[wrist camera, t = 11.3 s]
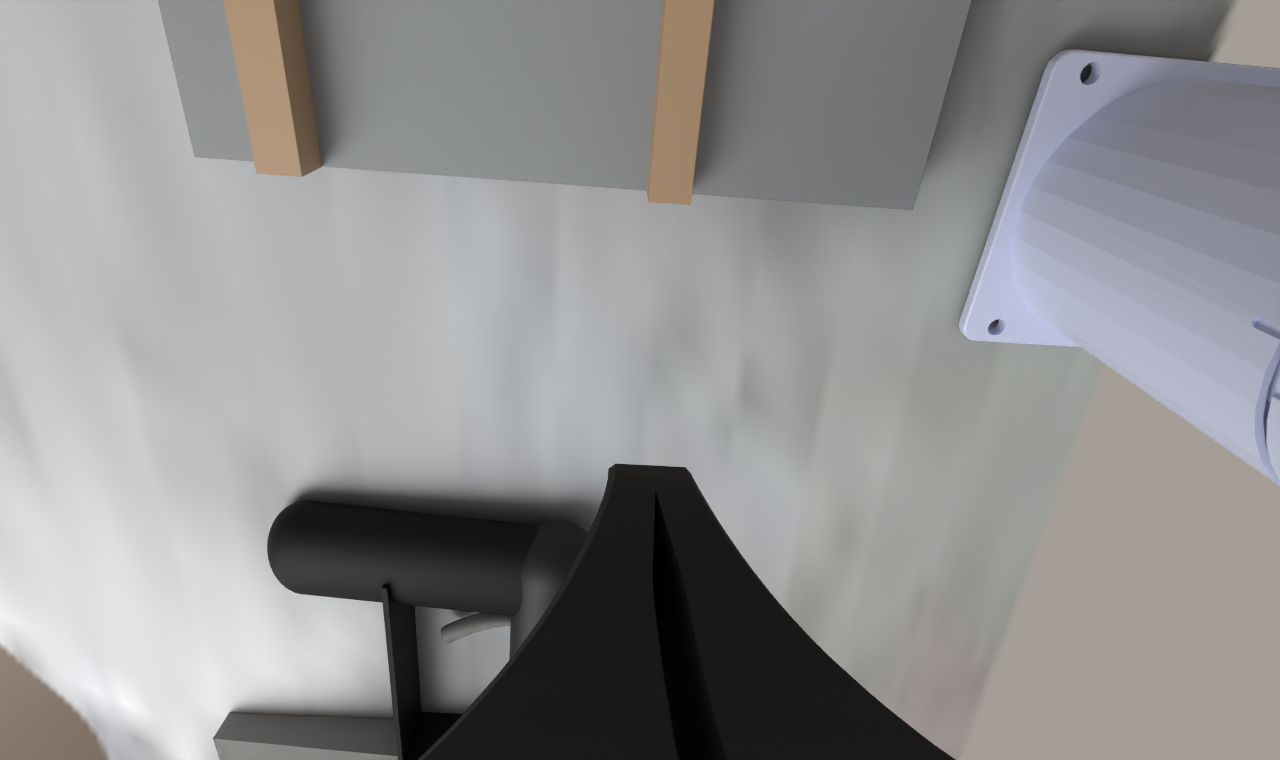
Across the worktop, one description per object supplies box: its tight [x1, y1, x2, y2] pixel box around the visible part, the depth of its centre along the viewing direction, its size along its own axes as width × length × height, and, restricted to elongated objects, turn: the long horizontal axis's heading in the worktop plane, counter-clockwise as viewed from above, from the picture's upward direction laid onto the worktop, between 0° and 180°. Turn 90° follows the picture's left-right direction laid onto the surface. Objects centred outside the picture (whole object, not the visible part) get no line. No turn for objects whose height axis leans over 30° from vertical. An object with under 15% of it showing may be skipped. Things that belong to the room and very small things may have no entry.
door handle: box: [213, 501, 588, 760], centre depth 27 cm, size 3×20×16 cm
